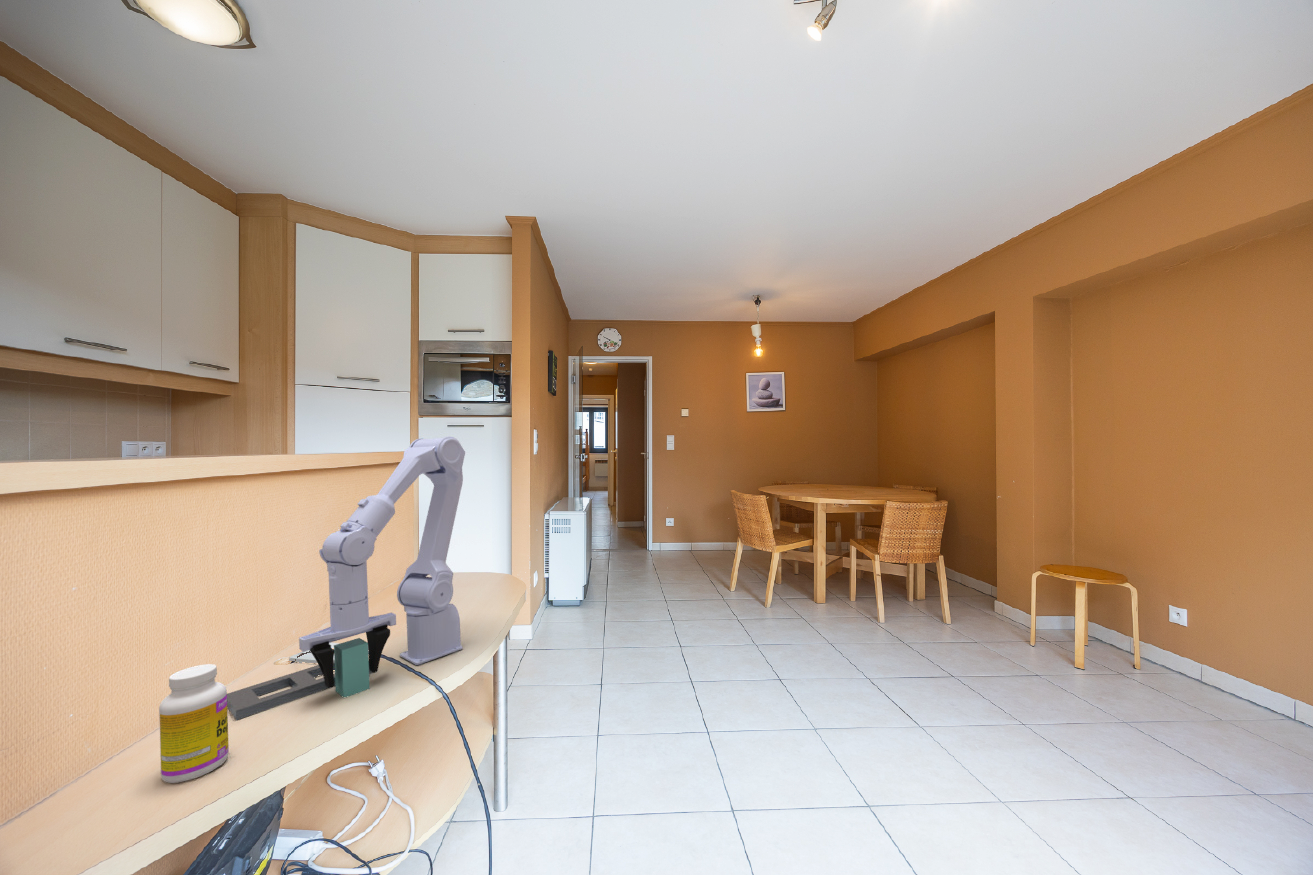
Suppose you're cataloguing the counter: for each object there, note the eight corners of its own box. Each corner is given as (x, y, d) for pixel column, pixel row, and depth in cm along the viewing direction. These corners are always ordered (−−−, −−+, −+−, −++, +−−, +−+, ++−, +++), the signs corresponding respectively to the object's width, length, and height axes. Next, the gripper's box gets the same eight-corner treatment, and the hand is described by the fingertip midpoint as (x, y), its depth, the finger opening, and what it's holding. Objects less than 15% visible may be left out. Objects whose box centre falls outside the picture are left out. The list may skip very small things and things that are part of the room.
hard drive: (288, 656, 100) (337, 660, 97) (325, 641, 108) (372, 644, 105) (289, 665, 100) (338, 669, 97) (325, 648, 108) (372, 652, 105)
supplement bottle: (226, 770, 66) (222, 672, 66) (155, 793, 62) (152, 688, 62) (231, 747, 71) (228, 656, 71) (167, 766, 67) (164, 670, 67)
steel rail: (355, 660, 99) (355, 653, 99) (373, 672, 94) (373, 664, 94) (224, 703, 84) (224, 694, 84) (236, 720, 78) (235, 710, 78)
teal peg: (361, 682, 90) (359, 637, 90) (369, 688, 87) (367, 642, 87) (335, 691, 87) (333, 645, 87) (343, 698, 84) (341, 650, 84)
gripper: (384, 586, 95) (386, 657, 95) (292, 607, 84) (295, 688, 84) (399, 591, 91) (402, 667, 90) (305, 615, 80) (308, 700, 79)
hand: (352, 678), depth 87 cm, fingers open, 6 cm apart
